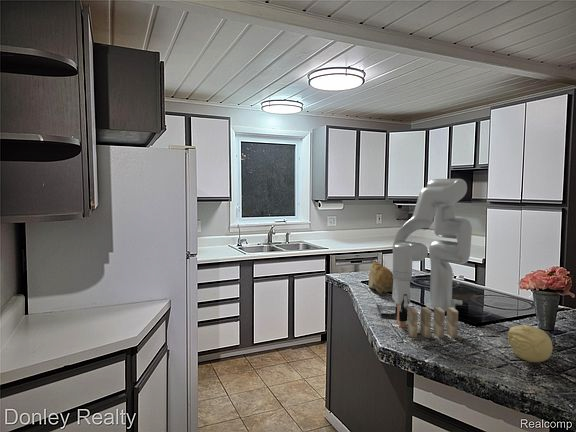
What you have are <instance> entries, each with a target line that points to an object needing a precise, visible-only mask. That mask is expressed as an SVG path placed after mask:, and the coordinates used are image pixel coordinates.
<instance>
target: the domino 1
mask: <svg viewBox="0 0 576 432" xmlns="http://www.w3.org/2000/svg"><path fill="white" fill-rule="evenodd" d="M401 304H404V302H402V303H401ZM403 306H404V305H402V307H403ZM396 307H397V318H396V324H397V326H398V327H399V328H406V326H407V325H406V324H407V321H399V311H400V304H399V305H398V304H397V306H396Z"/></svg>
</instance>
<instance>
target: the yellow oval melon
mask: <svg viewBox="0 0 576 432" xmlns="http://www.w3.org/2000/svg"><path fill="white" fill-rule="evenodd" d="M551 339H552V338H551V337H550V336H549V335H548V334H547V332H546V331H544V330H542V329H541V328H538V327H536V326H532V325H527V324H522V325H516V326H515V325H514V326H511V327H510V328H509V330H508V331H507V342H508V343H509V344H510V347H511V349H512V351H513V352H514V354H515V355H516V356H517V357H518V358H519V359H521V360H523V361H526V362H530V363H541V362H545V361H547V360H548V359H549V358H550V357H551V356H552V354H553V350H554V349H553V347H554V345H553V342H552V340H551Z"/></svg>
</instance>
